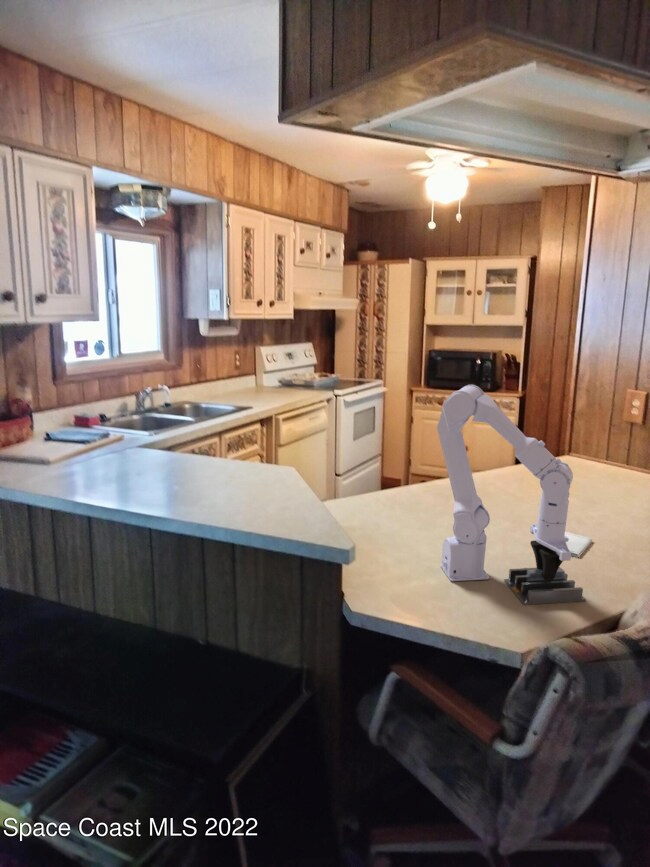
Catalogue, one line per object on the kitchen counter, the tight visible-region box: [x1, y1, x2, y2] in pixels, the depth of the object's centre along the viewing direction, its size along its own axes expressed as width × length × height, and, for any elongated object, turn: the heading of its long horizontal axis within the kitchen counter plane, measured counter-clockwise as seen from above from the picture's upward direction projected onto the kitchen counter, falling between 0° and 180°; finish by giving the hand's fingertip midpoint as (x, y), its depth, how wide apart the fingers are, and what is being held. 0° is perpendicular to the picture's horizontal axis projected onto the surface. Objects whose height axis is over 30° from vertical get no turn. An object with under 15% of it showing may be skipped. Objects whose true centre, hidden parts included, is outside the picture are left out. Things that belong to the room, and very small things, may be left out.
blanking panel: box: [526, 567, 566, 583], centre depth 135 cm, size 8×2×4 cm, turn 97°
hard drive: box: [565, 531, 593, 559], centre depth 159 cm, size 2×8×12 cm
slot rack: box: [503, 566, 587, 606], centre depth 135 cm, size 14×10×3 cm
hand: (545, 575), depth 135 cm, fingers open, 2 cm apart
